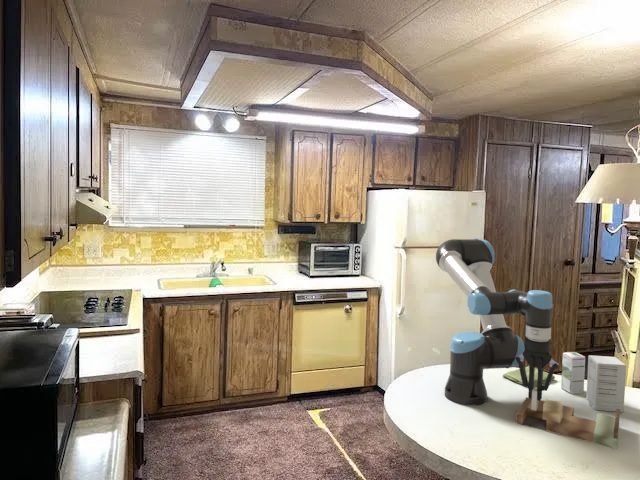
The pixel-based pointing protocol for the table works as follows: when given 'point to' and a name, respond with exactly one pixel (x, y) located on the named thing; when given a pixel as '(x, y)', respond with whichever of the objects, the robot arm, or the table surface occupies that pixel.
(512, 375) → the washcloth
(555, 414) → the maple block
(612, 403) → the supplement box
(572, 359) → the syrup box
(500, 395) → the table surface
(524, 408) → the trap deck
